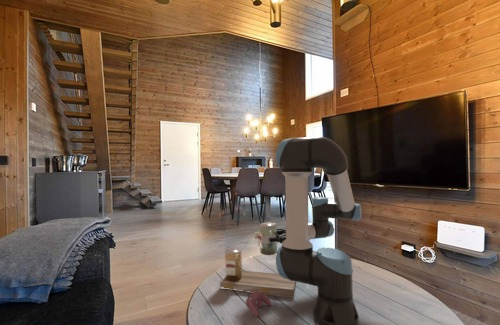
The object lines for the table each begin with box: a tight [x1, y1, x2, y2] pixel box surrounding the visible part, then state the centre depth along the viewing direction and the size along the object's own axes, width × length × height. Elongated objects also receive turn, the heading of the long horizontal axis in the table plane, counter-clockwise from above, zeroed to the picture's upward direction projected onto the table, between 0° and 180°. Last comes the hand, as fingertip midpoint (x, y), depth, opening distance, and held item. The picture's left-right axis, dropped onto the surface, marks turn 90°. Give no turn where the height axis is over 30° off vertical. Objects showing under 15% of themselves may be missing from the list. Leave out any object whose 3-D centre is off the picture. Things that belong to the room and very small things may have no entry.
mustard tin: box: [224, 247, 243, 281], centre depth 117 cm, size 8×8×12 cm
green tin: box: [257, 221, 278, 256], centre depth 112 cm, size 8×8×12 cm
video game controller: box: [245, 291, 272, 317], centre depth 96 cm, size 10×5×7 cm, turn 141°
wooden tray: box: [219, 270, 297, 298], centre depth 114 cm, size 16×32×3 cm, turn 76°
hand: (258, 237), depth 111 cm, fingers closed on green tin, 7 cm apart
